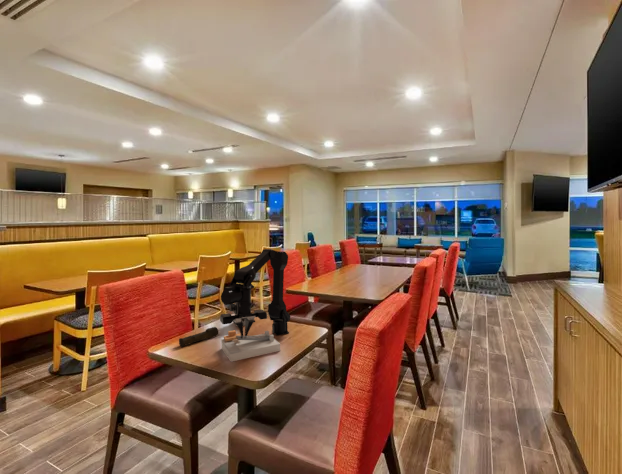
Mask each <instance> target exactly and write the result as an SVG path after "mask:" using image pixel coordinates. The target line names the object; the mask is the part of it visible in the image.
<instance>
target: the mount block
mask: <svg viewBox="0 0 622 474" xmlns="http://www.w3.org/2000/svg"><path fill="white" fill-rule="evenodd" d="M253 336H269V340H237V339H236V340H231V341H225V340H224V338H223V339H221V343H220V344H221V350H222V351H223V353H224V355H225V356H226V357H227V358H228V360H229V361H230V362H236V361H240V360H246V359H248V358H254V357H258V356H264V355H266V354H271V353H272V354H273V353H275V352H280V351H281V343H280V342H279V341H278V340H277V339H276V338H274V337H275V334H274V333H272V334H270V331H269V330H264V333H260V334H255V335H253Z"/></svg>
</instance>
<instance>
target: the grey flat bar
mask: <svg viewBox="0 0 622 474" xmlns="http://www.w3.org/2000/svg"><path fill="white" fill-rule="evenodd" d="M236 338H237V340H269V336H254V335H247V336H246V337H245V335H243V337H241V336H236Z"/></svg>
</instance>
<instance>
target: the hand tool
mask: <svg viewBox="0 0 622 474" xmlns="http://www.w3.org/2000/svg"><path fill="white" fill-rule="evenodd" d="M219 333H220V332H219V329H218V328H217V327H216V326H213V327H208V328H206V329H205V331H202V332H198V333H195V334H192V335H188V336H185V337H181V338H178V344H179V346H180V347H181V348H183V347H186V346H187V345H190V344H194V343H196V342H199V341H203V340H205V339H206V340H207V339H208V340H210V339H214V338H216V337H217V336H219Z"/></svg>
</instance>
